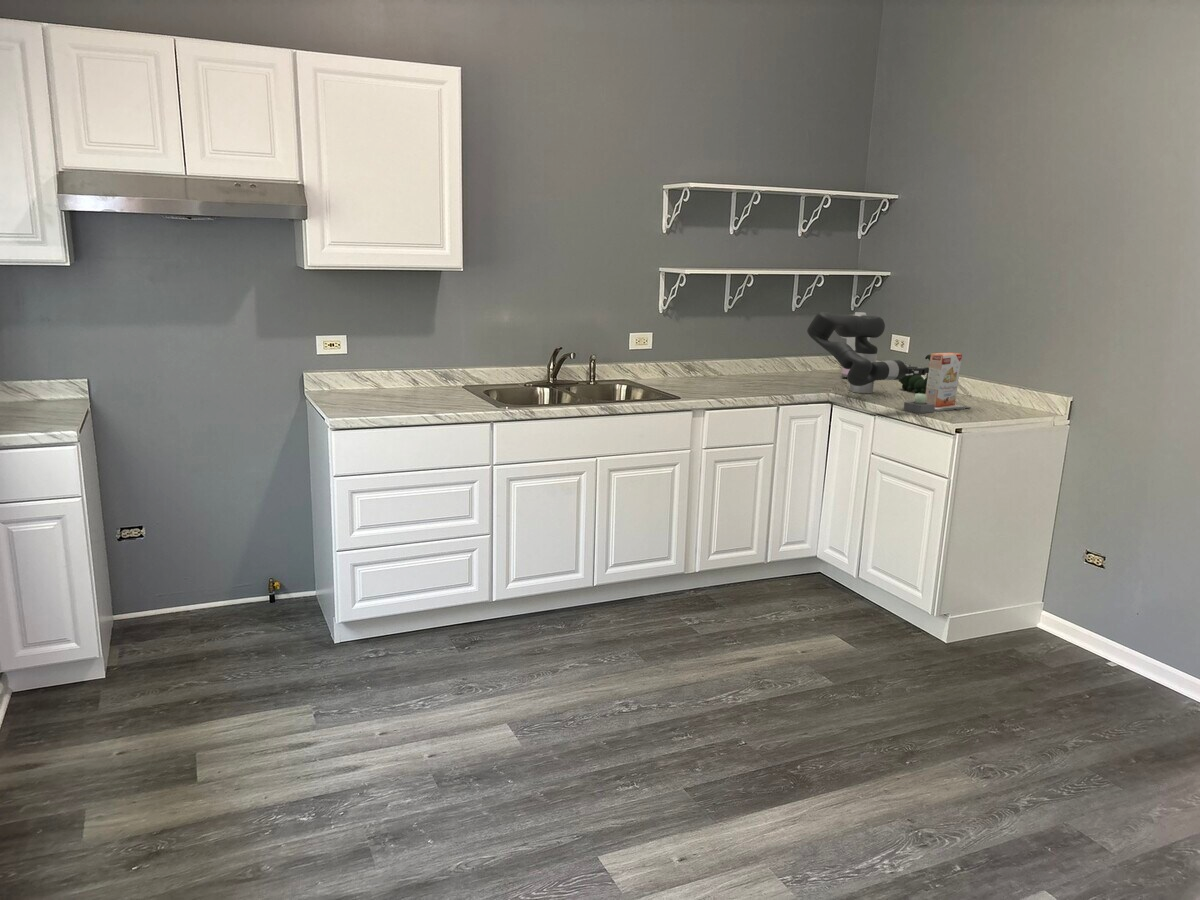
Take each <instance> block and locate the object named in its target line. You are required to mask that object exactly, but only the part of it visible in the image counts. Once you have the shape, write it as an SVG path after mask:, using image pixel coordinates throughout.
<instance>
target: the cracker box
mask: <svg viewBox="0 0 1200 900" xmlns="http://www.w3.org/2000/svg"><path fill="white" fill-rule="evenodd" d="M930 355H931V357H930V361H929V365H928V368H929V373H928V379H927V386H926V393H924V394H926V403H931V404H935V407H941V406H949V405H955V404H956V400H957V392H958V385H959V379H960V378H959V377H960V372H961V364H962V358H963V354H962V353H959V352H957V353H956V352H937V353H936V352H935V353H930Z"/></svg>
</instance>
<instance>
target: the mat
mask: <svg viewBox="0 0 1200 900" xmlns="http://www.w3.org/2000/svg"><path fill="white" fill-rule="evenodd" d="M964 408H971V407H970V406H967V405H961V404H956V403H955V405H949V406H941V407H935V409H934V412H937V411H939V412H945V411H944V410H951V411H955V410H954V409H962V410H965V409H964Z"/></svg>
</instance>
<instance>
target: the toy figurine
mask: <svg viewBox="0 0 1200 900" xmlns="http://www.w3.org/2000/svg"><path fill="white" fill-rule="evenodd" d="M930 357H931V354H927V355H926V356H925V358H924V359H925V360H927V359H928V361H929V362H930ZM912 368H913V367H912ZM914 369H915V368H913V370H914ZM927 379H928V373H926V377H925V378H924V377H923V375H915V376H914V375H905V376H904V377H903V378H902V379H900V380H898V382H899V383H900V384H901V387H902V390H904V389H905V391H909V392H913V393H914V394H915V393H919V394H925V393H926V386H927Z"/></svg>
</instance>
